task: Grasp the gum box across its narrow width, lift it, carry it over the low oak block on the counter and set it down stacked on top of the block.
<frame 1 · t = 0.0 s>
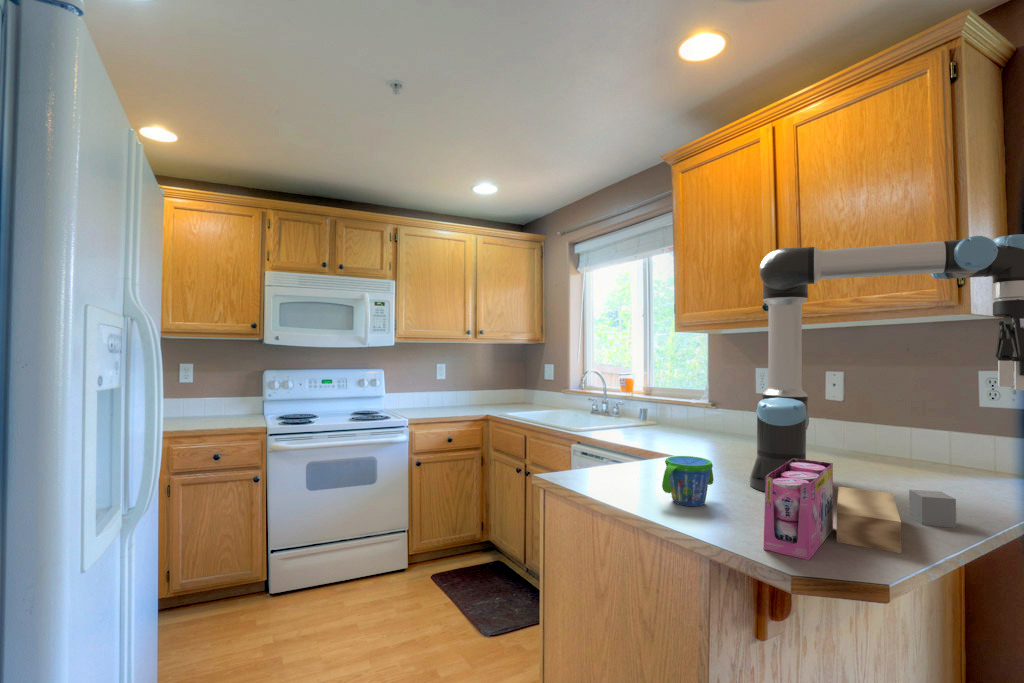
hand: (1014, 388, 127), 28 cm above the table, tool pointing down, fingers open, 13 cm apart
oak block: (866, 531, 109), on the table
grey block: (931, 522, 114), on the table
gum box: (800, 539, 103), on the table
snack cup: (688, 503, 127), on the table
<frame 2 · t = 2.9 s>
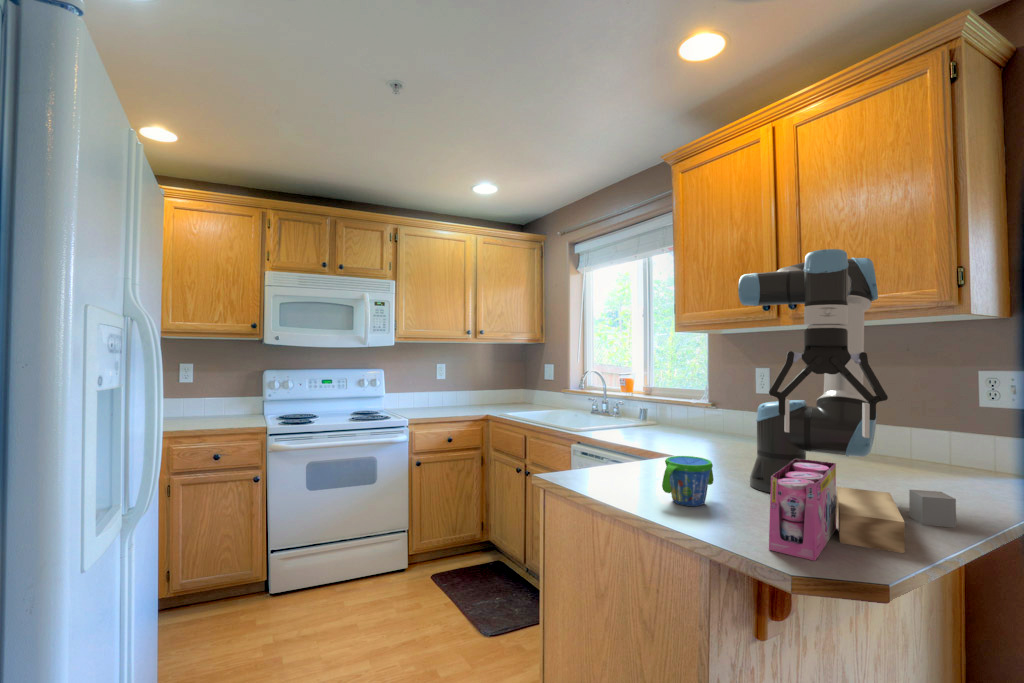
hand: (825, 434, 105), 20 cm above the table, tool pointing down, fingers open, 13 cm apart
nothing on the table moved.
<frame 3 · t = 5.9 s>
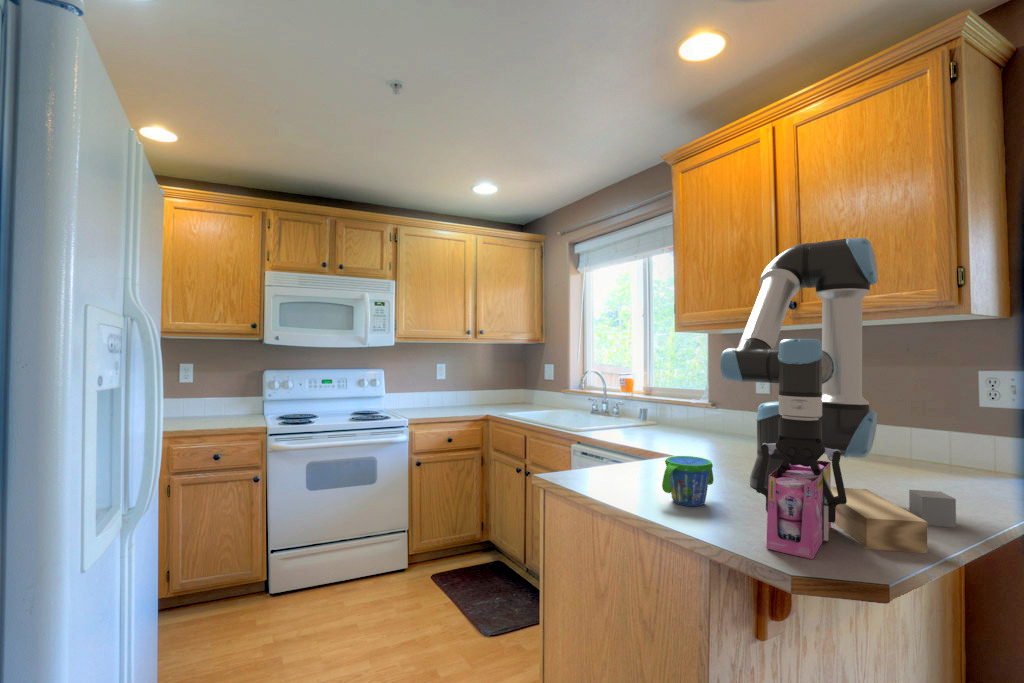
hand: (799, 534, 103), 1 cm above the table, tool pointing down, fingers closed on gum box, 8 cm apart
gum box: (800, 538, 104), on the table, touching gripper
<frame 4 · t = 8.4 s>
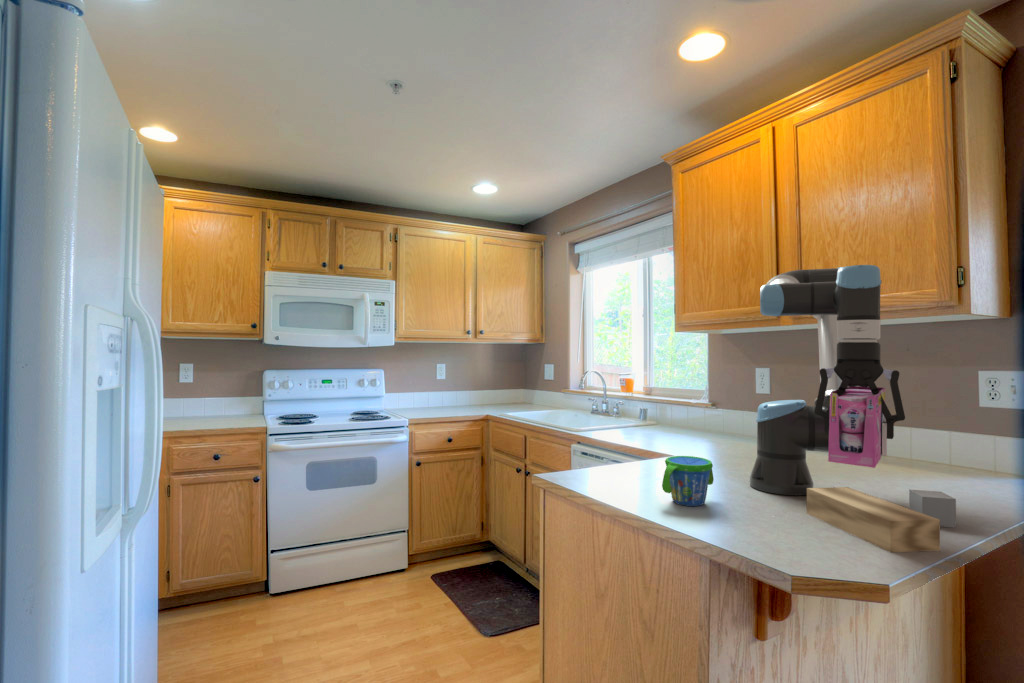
hand: (857, 452, 109), 16 cm above the table, tool pointing down, fingers closed on gum box, 8 cm apart
gum box: (858, 456, 109), point 15 cm above the table, touching gripper
when the fingers open (8 cm above the table, at t = 10.9 s): gum box drops 2 cm, resting on oak block.
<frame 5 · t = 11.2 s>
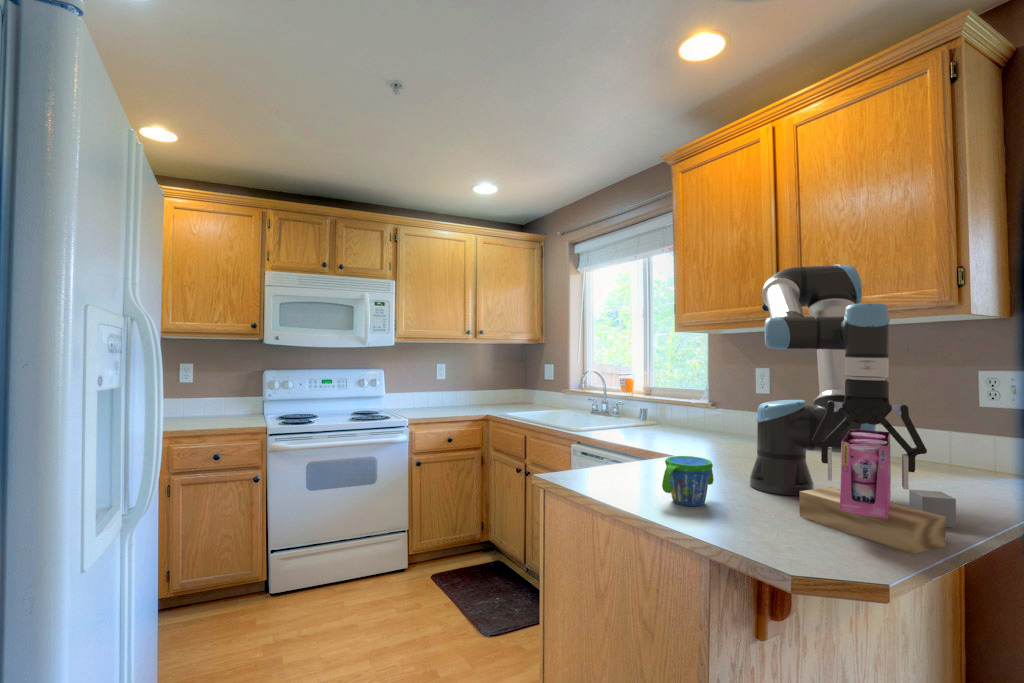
hand: (866, 483, 109), 9 cm above the table, tool pointing down, fingers open, 12 cm apart
oak block: (866, 532, 109), on the table, touching gum box
gum box: (866, 503, 109), point 5 cm above the table, touching oak block
everything else where it was.
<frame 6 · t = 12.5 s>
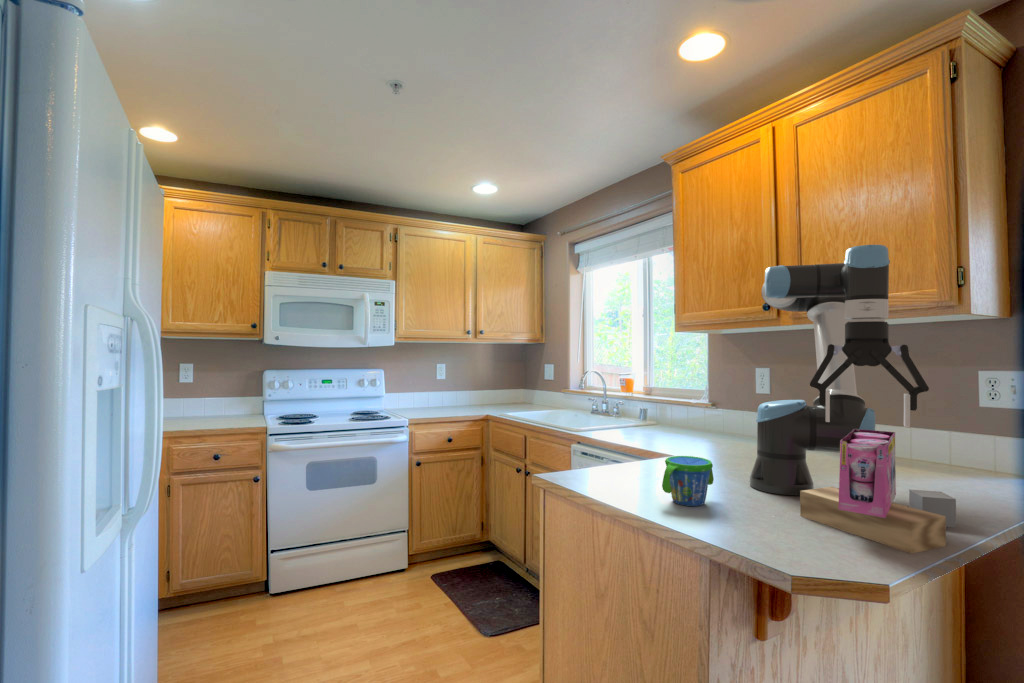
hand: (865, 424, 109), 22 cm above the table, tool pointing down, fingers open, 13 cm apart
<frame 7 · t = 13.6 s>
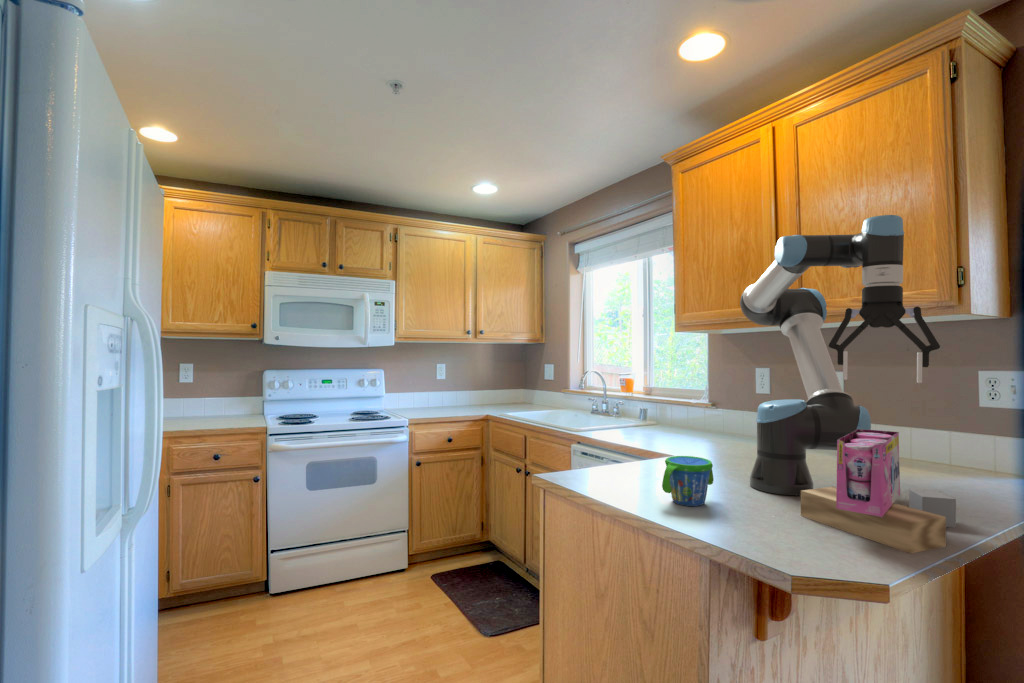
hand: (881, 381, 118), 30 cm above the table, tool pointing down, fingers open, 13 cm apart
nothing on the table moved.
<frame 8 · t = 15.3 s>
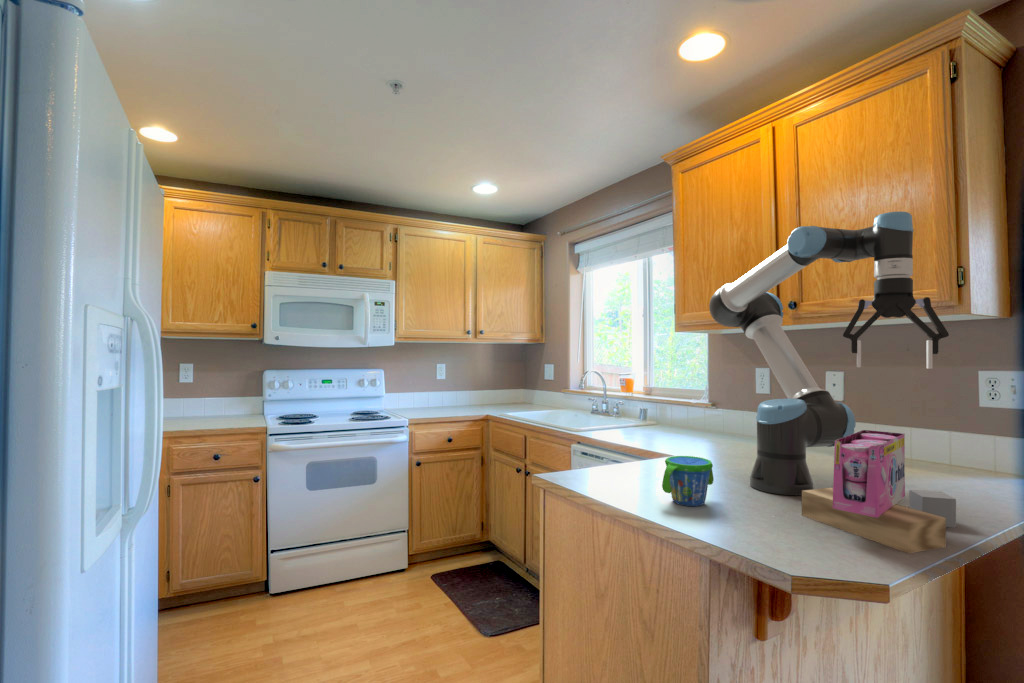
hand: (893, 368, 125), 33 cm above the table, tool pointing down, fingers open, 13 cm apart
at the end: gum box inside the target area on the oak block (0.9 cm from its centre), point 5.8 cm above the oak block's base; gum box tilted 1°; the gripper is holding nothing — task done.
